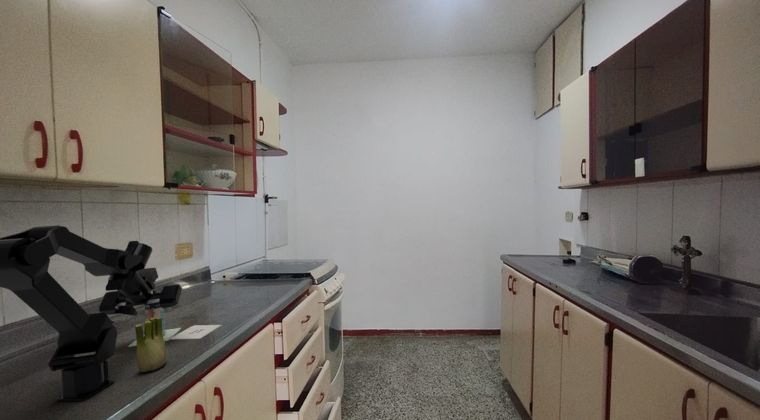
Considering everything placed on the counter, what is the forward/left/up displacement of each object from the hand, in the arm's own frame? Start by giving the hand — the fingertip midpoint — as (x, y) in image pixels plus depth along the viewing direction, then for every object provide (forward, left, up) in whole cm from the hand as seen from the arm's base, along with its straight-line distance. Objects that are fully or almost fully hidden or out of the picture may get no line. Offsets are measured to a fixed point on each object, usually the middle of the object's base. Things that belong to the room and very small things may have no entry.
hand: (153, 312), depth 90 cm
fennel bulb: (-17, -16, -8) cm, 25 cm away
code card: (+3, -11, -8) cm, 14 cm away
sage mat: (0, 0, -8) cm, 8 cm away
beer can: (0, 0, -8) cm, 8 cm away
